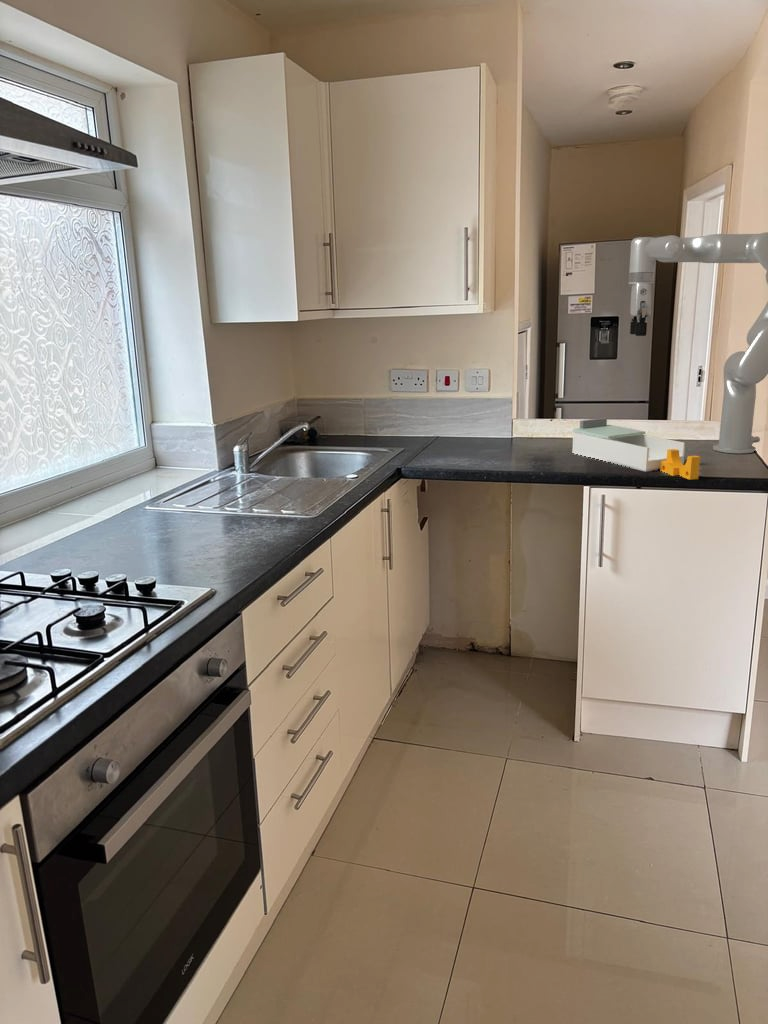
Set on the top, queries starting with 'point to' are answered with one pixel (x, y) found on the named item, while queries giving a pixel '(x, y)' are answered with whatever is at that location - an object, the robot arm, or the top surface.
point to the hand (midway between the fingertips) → (637, 334)
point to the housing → (628, 450)
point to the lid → (605, 429)
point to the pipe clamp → (681, 465)
